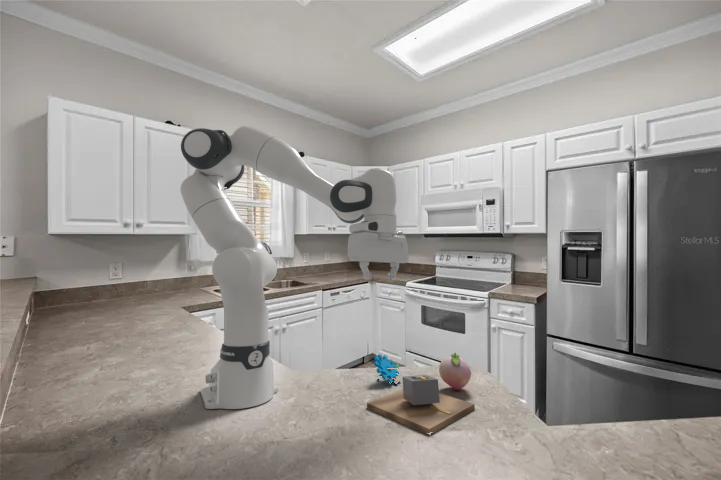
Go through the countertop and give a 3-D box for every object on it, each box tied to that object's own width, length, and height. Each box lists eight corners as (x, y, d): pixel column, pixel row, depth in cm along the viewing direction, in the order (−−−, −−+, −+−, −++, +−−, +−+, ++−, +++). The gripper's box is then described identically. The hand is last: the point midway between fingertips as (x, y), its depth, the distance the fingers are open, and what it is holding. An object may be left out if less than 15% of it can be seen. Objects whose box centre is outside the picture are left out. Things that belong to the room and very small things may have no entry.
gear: (389, 384, 88) (371, 353, 94) (376, 397, 90) (359, 365, 96) (410, 380, 97) (392, 351, 103) (397, 391, 98) (380, 363, 104)
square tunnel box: (403, 398, 78) (402, 374, 79) (428, 396, 79) (426, 373, 81) (413, 405, 72) (411, 379, 73) (439, 402, 73) (437, 377, 75)
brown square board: (366, 408, 77) (366, 376, 77) (413, 389, 89) (413, 362, 90) (429, 435, 63) (428, 397, 64) (474, 409, 76) (473, 377, 76)
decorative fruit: (437, 383, 93) (436, 348, 94) (466, 384, 93) (464, 349, 94) (442, 396, 84) (441, 356, 85) (474, 396, 83) (473, 357, 84)
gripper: (396, 233, 97) (397, 279, 95) (344, 225, 83) (343, 279, 81) (413, 231, 92) (413, 279, 90) (360, 222, 78) (360, 279, 77)
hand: (380, 279), depth 86 cm, fingers open, 8 cm apart
